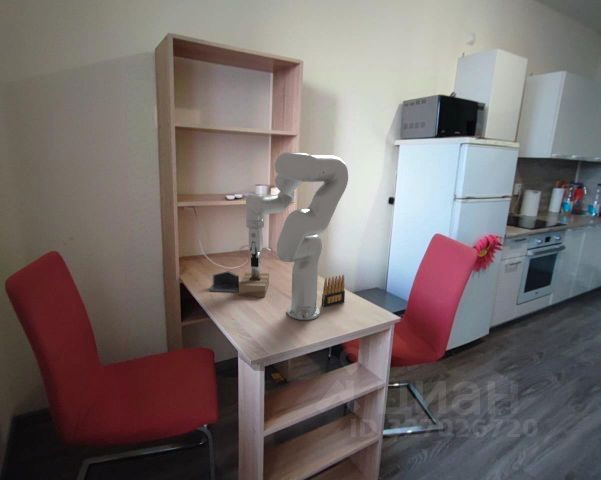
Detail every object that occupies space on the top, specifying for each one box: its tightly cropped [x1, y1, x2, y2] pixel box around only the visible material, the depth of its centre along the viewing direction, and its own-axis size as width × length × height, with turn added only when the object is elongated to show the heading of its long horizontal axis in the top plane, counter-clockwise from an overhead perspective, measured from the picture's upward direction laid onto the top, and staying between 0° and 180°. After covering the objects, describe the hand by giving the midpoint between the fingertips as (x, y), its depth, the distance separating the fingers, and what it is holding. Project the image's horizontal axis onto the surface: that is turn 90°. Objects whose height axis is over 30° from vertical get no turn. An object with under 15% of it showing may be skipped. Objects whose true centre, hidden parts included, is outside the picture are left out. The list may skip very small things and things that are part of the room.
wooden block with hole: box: [238, 272, 270, 298], centre depth 157 cm, size 16×11×5 cm
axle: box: [250, 251, 261, 280], centre depth 155 cm, size 4×4×12 cm
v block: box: [209, 270, 241, 293], centre depth 158 cm, size 12×10×6 cm
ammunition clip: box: [320, 274, 346, 308], centre depth 144 cm, size 11×2×12 cm, turn 123°
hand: (255, 264), depth 155 cm, fingers closed on axle, 3 cm apart
